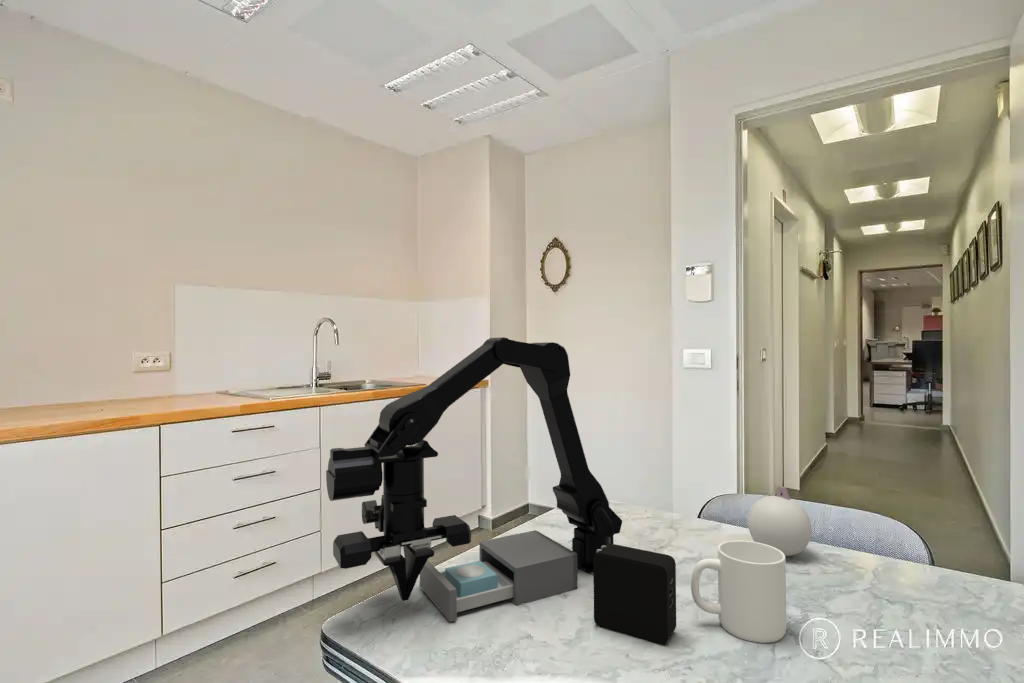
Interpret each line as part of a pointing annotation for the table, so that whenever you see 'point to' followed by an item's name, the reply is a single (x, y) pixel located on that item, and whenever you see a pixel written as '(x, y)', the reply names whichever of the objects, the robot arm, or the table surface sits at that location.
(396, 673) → the table surface
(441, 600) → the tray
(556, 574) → the grey drawer box
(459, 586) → the block
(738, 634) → the cup
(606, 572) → the electronic device
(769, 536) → the ornament
